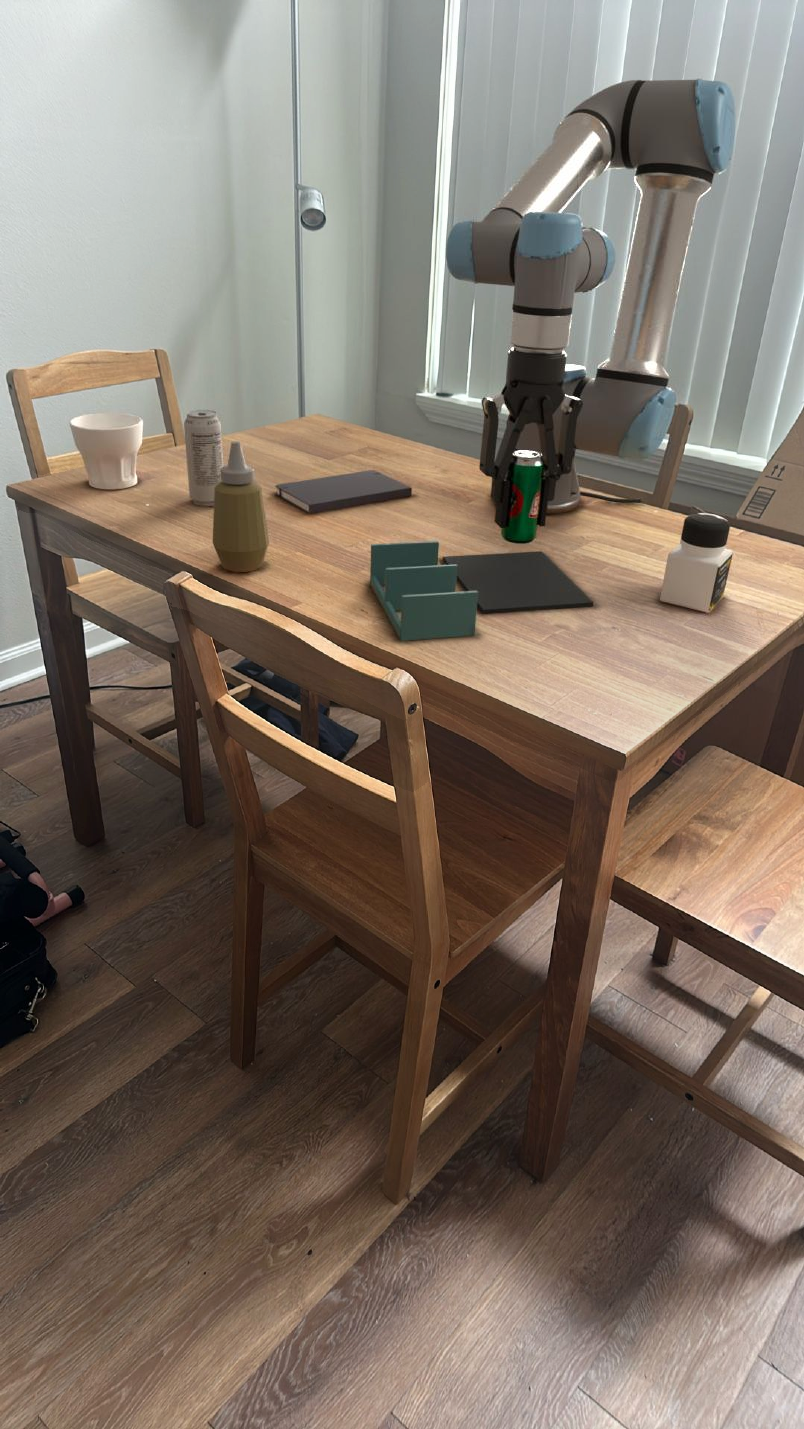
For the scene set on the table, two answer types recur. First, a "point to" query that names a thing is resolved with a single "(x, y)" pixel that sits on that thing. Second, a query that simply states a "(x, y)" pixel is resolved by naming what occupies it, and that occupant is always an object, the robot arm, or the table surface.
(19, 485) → the table surface
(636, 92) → the robot arm
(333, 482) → the notebook
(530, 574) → the mat
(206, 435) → the energy drink can
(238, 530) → the squeeze bottle
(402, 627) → the frame
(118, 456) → the cup
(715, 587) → the medicine bottle
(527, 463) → the soda can
